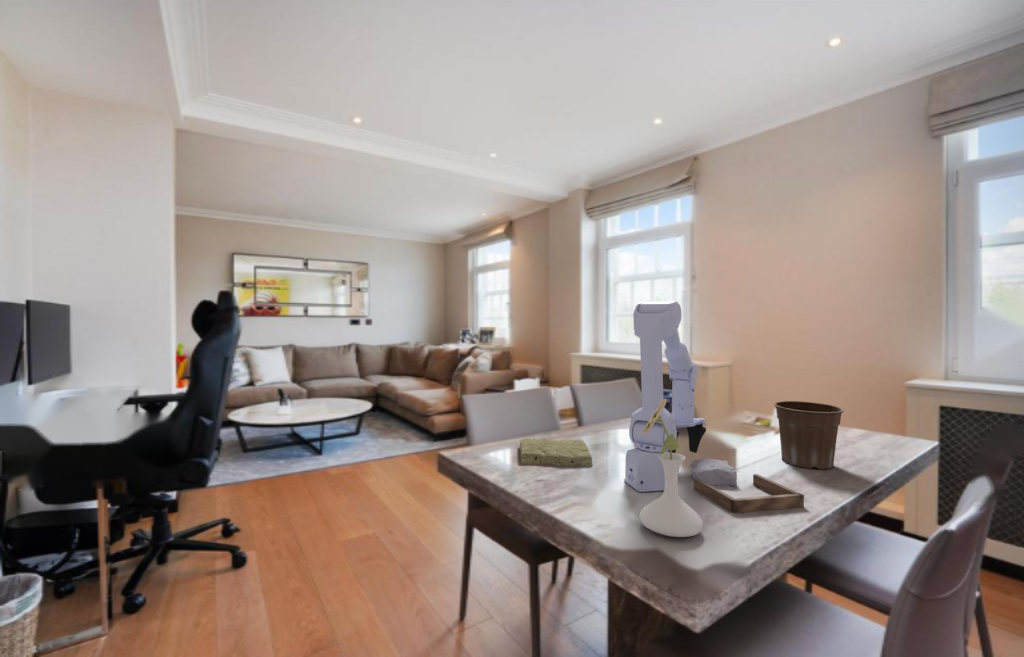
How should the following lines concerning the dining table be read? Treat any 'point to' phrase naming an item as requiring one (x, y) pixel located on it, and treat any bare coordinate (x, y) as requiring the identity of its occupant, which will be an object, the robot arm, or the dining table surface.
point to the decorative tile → (555, 452)
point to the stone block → (714, 472)
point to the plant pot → (808, 433)
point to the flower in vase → (669, 493)
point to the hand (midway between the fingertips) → (682, 453)
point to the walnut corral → (778, 501)
